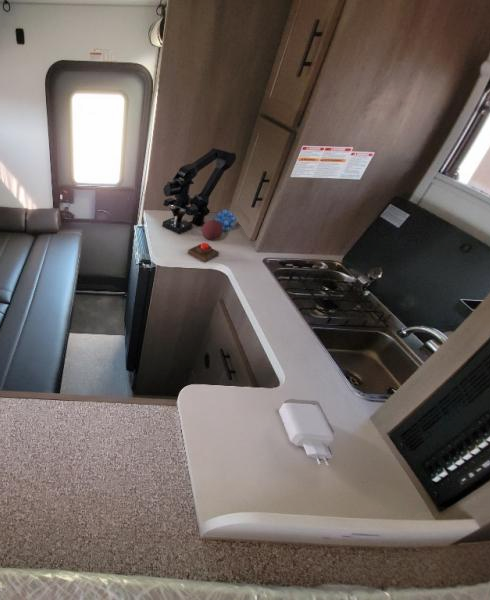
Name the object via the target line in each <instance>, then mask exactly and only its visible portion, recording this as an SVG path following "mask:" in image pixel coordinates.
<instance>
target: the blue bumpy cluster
mask: <svg viewBox="0 0 490 600" xmlns="http://www.w3.org/2000/svg"><path fill="white" fill-rule="evenodd" d="M213 220H216V221H219V222H220V223H221V225H222V227H223V231H222V232H224V231H227V232H228V231H229V232H230V230H231V228H233V227H235V226H236V221H237V217H236V216H235V215H234V212H233V211H231V210H229V211H228V210H227V209H222V211H218V212H217V213H216V216H215V217H214V218H213Z"/></svg>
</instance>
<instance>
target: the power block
mask: <svg viewBox="0 0 490 600" xmlns="http://www.w3.org/2000/svg"><path fill="white" fill-rule="evenodd" d="M201 244H202V243H200V244H198V245H196V246H193V247H192V248H189V249H188V251H187V254H188V255H189V256H192V257H193V258H195V259H197V260H198V261H201V262H203V263H207V262H209V261H210V260H212V259H215V258H217V257H218V256H219V253H220V251H218V250H216V249H214V248H212V246H211V245H209V248H208V249H207V250H204V249H201V248H200V247H201Z"/></svg>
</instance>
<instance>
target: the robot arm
mask: <svg viewBox="0 0 490 600" xmlns="http://www.w3.org/2000/svg"><path fill="white" fill-rule="evenodd" d="M236 160H237V154H236V153H235V152H233V151H230V150H228V149H223V150H222V149H220V148H217V147H213V148H211V150H210V151H208V152H207V153H206V154H204V155H203V156H201V157H199V158H198V159H197V160H195V161H194V162H192V163H186V164H185V165H183V166H180V168H178V171H177V172H176V174H175V175H174V177H173V179H172V181H167V183H166V184H165V185H164V187H163V194H164V196H165V197H168V198H166V199H164V200H163V204H162V206H164V207H169V206H170V208H169V210H171V213H172V215H173V217H174V218H175V216H177V215H178V223H179V222H180V221H181V219H182V220H183V218H184V216H185V215H187V216H190V217H192V219H191V220H190V221H189V223H191V224H192V225H195V226H196V227H200V226H203V225H204V224H205V223H206V222H207V221H205V217H206V216H208V215H209V214H210V212H211V210H210V209H209V208H208V205H209V201H210V196H211V195H212V193H213V191H214V190H215V188H216V187H217V184H218V183H219V181H221V178H222V176H223V175H224V173H225V172H226V171H227V170H228V169H230V168H231V167H232V166H233V165H234V163H235V162H236ZM214 161H216V162H215V167H214V169H213V171H212V172H211V174H210V176H209V177H208V179H207V181H206V183H205V185H204V186H203V188H202V189H201V191H200V193H198V194H194V195H193V198H192V197H190V194H189V193H190V187H191V185H194V184H195V182H194V181H193V179H194V178H196V177H197V175H198V173H199V172H200V171H201V170H203V169H204V168H205V167H207V166H208V165H210V164H212V162H214ZM173 196H174V198H172V197H173ZM189 205H190V206H189Z"/></svg>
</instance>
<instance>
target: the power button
mask: <svg viewBox="0 0 490 600" xmlns="http://www.w3.org/2000/svg"><path fill="white" fill-rule="evenodd" d="M200 244H201V247H200V248H201V249H204V250H207V249H208V248H209V246H210V244H209V243H207V242H201V243H200Z"/></svg>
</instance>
